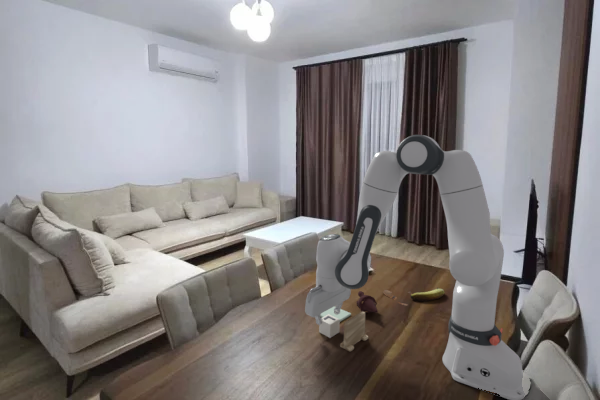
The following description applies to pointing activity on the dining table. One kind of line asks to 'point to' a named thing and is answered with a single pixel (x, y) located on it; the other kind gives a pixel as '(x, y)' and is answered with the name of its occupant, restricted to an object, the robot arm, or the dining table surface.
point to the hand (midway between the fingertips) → (328, 318)
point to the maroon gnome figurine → (366, 303)
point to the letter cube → (329, 326)
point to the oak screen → (354, 331)
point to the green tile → (340, 316)
